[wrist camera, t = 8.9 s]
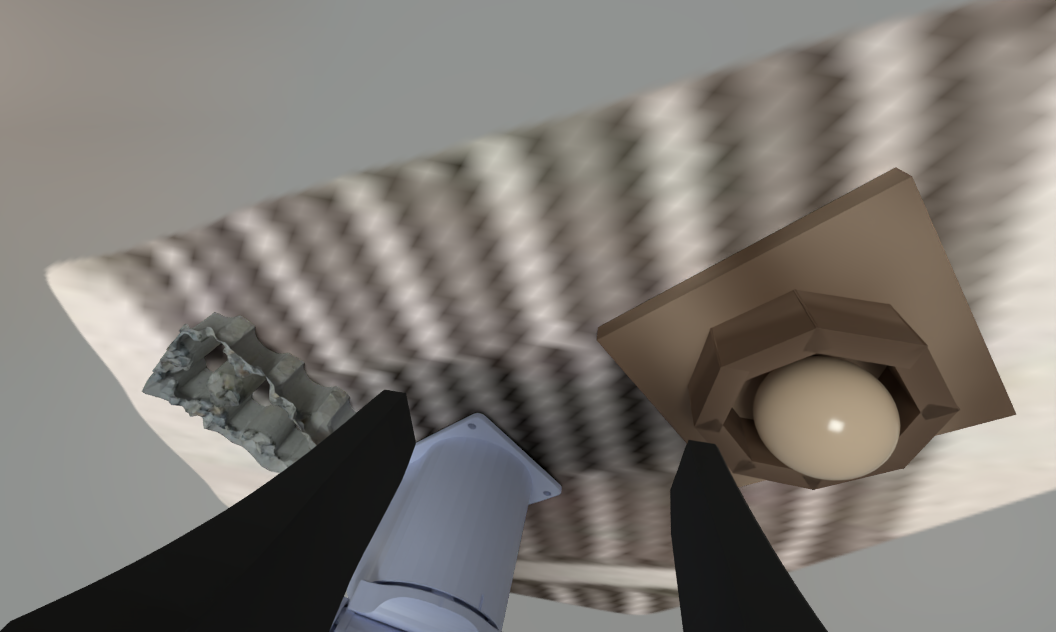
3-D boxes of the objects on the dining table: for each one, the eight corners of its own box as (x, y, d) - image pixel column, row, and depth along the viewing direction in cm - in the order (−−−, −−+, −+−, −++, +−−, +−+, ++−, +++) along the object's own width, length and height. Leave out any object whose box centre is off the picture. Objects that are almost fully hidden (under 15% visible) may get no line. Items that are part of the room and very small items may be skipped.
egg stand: (724, 474, 24) (736, 534, 21) (598, 327, 20) (592, 377, 17) (999, 396, 18) (1067, 466, 15) (895, 167, 14) (961, 204, 11)
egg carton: (374, 407, 27) (339, 460, 24) (318, 445, 31) (281, 496, 28) (226, 291, 24) (162, 335, 21) (184, 349, 28) (123, 394, 25)
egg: (763, 427, 20) (812, 520, 16) (717, 368, 18) (759, 458, 15) (869, 382, 18) (951, 476, 14) (828, 312, 16) (910, 398, 13)
